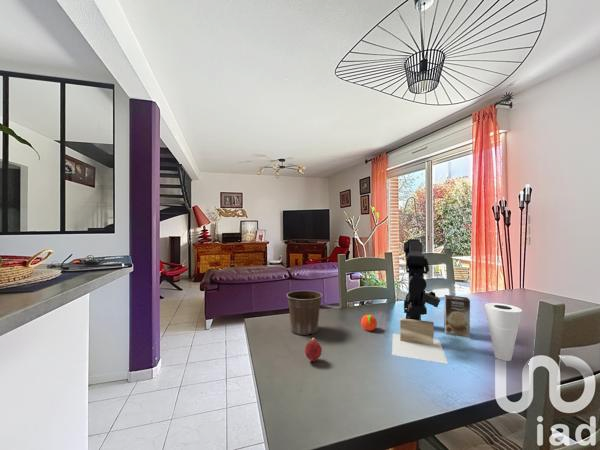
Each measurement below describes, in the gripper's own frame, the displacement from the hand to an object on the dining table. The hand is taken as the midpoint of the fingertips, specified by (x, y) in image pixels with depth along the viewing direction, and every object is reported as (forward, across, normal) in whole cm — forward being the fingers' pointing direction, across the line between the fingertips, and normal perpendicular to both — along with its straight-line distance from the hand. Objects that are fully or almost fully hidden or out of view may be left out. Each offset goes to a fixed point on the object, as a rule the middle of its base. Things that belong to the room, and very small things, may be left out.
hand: (416, 324), depth 106 cm
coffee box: (+7, +15, -17) cm, 24 cm away
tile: (+6, -1, 0) cm, 7 cm away
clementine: (+7, +6, +19) cm, 21 cm away
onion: (+8, -28, +35) cm, 45 cm away
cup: (+7, -2, -28) cm, 29 cm away
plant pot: (+7, -4, +47) cm, 47 cm away
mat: (+7, -5, 0) cm, 9 cm away
